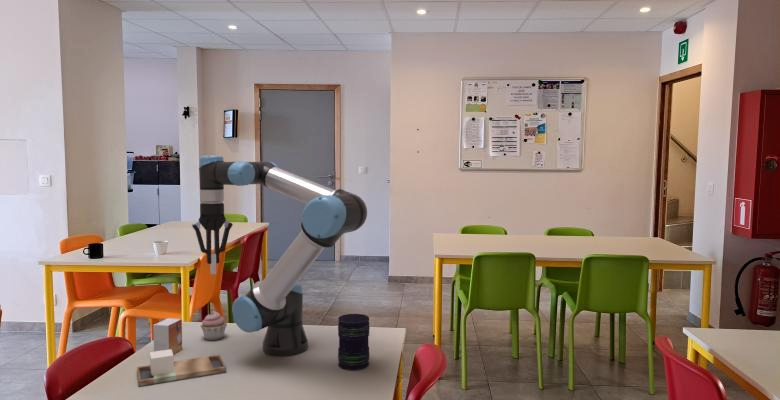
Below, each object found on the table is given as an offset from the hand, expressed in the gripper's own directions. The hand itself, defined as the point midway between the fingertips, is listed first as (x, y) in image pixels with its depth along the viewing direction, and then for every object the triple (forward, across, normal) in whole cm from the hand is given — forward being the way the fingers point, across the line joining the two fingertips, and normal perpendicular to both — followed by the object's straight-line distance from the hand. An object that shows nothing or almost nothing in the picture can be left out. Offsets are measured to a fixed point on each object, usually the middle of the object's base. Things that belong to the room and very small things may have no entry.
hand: (213, 273), depth 182 cm
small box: (+27, +14, -5) cm, 31 cm away
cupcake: (+27, -2, -14) cm, 30 cm away
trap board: (+26, +12, +15) cm, 33 cm away
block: (+25, +18, +15) cm, 34 cm away
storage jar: (+27, -37, +32) cm, 56 cm away
